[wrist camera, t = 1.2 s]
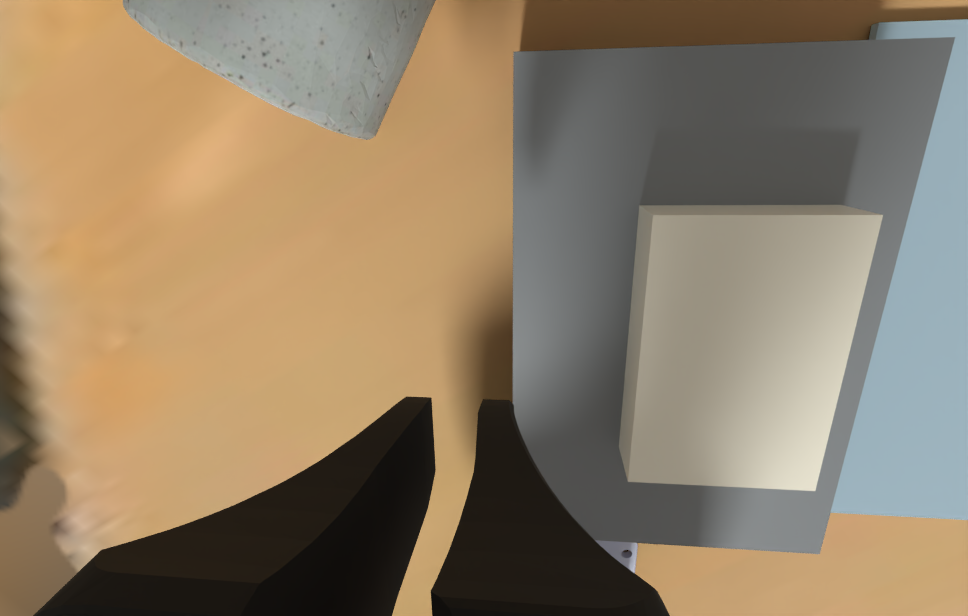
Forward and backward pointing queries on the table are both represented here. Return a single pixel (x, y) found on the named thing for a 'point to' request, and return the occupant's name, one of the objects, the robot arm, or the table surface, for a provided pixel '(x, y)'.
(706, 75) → the plate
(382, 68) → the ceramic mug
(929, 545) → the table surface
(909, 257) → the mat
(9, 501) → the table surface
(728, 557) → the table surface
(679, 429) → the cream rectangular block
